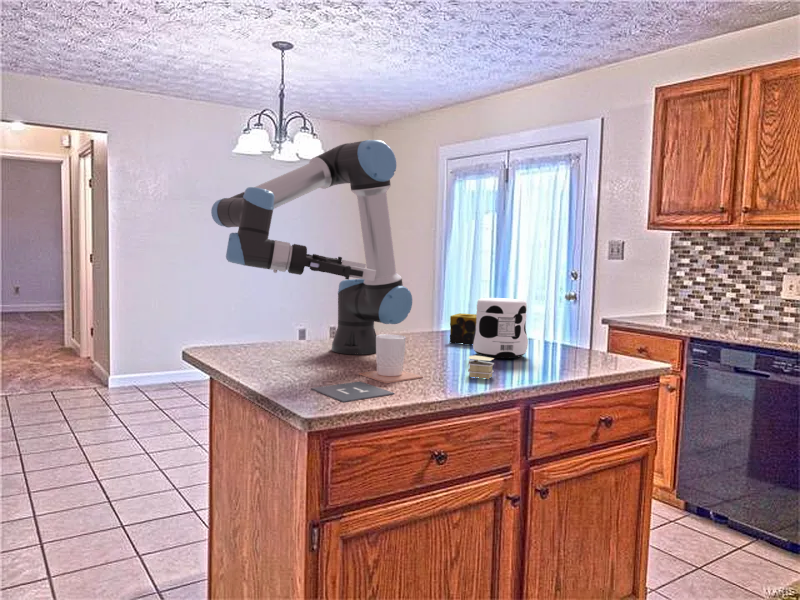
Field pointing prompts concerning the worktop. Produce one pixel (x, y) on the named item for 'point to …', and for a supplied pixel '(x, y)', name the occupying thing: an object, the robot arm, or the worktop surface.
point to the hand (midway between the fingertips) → (369, 272)
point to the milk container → (500, 328)
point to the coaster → (390, 379)
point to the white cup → (390, 354)
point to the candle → (462, 328)
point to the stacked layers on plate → (480, 367)
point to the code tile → (352, 391)
